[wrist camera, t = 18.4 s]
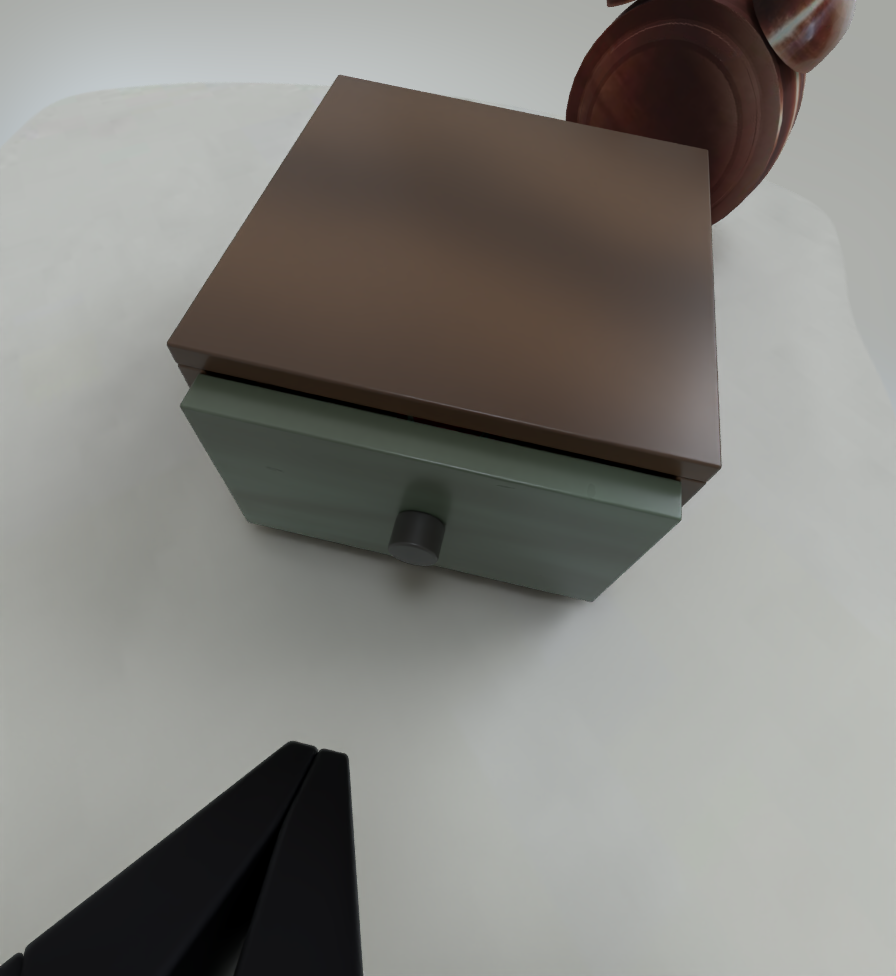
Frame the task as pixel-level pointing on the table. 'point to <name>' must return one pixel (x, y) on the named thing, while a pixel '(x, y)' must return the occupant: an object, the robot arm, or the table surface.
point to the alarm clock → (709, 79)
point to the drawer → (429, 489)
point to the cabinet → (479, 279)
